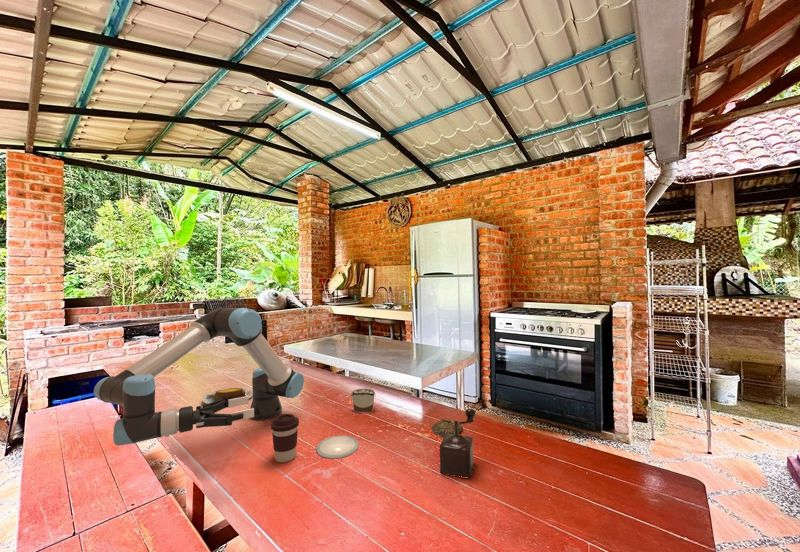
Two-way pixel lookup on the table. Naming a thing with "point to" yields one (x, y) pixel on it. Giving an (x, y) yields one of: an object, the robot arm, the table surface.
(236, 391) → the food on plate
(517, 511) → the table surface
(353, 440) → the saucer
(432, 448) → the table surface
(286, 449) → the coffee cup
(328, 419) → the table surface
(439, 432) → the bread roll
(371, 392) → the food container
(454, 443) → the manual coffee grinder
